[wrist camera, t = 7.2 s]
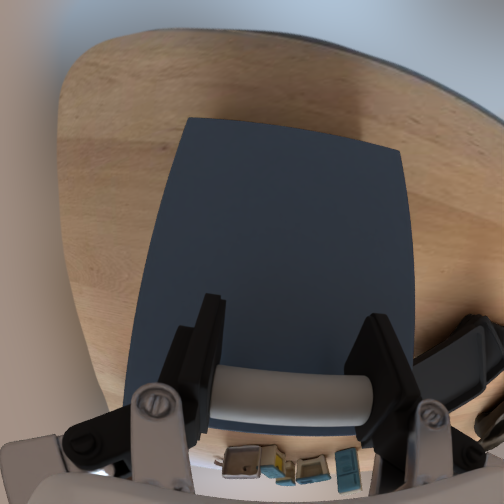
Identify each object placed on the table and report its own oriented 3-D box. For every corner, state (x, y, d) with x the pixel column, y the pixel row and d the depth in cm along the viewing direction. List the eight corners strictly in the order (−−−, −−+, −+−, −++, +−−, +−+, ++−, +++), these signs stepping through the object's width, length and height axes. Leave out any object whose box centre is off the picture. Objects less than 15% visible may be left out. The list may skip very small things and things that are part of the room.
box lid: (397, 428, 12) (458, 449, 7) (128, 405, 12) (75, 427, 7) (395, 157, 17) (430, 105, 12) (189, 125, 17) (178, 61, 12)
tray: (533, 309, 32) (548, 326, 27) (469, 398, 42) (478, 416, 38) (415, 292, 31) (432, 319, 26) (348, 406, 42) (352, 432, 37)
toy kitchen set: (346, 426, 45) (354, 475, 35) (357, 451, 50) (363, 491, 41) (256, 445, 49) (253, 491, 39) (281, 467, 54) (280, 505, 45)
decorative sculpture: (255, 469, 55) (253, 495, 49) (214, 464, 56) (210, 490, 49) (264, 444, 48) (262, 476, 42) (214, 438, 48) (209, 470, 42)
